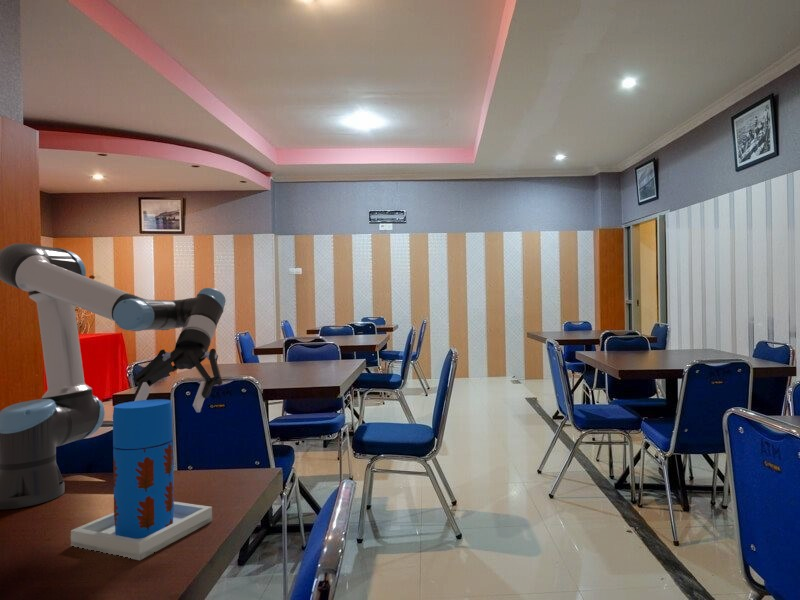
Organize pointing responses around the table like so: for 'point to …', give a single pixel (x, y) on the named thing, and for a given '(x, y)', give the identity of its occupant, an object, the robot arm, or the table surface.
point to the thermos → (143, 467)
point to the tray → (105, 540)
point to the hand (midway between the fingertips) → (165, 409)
